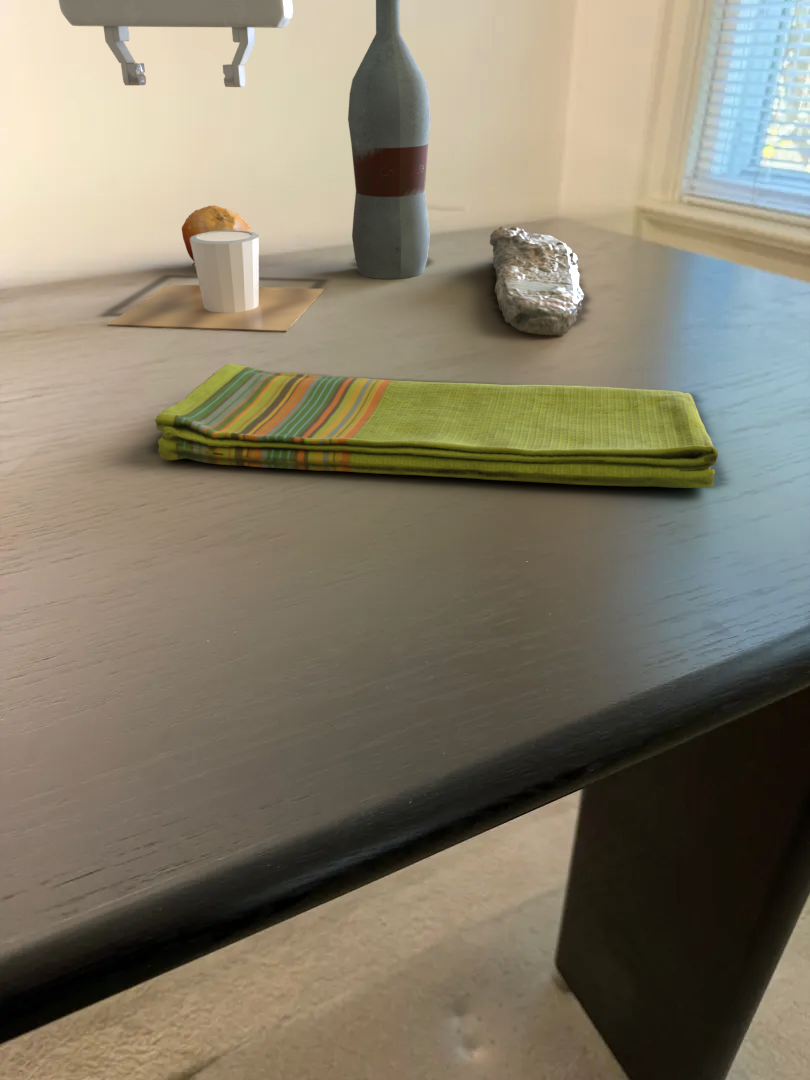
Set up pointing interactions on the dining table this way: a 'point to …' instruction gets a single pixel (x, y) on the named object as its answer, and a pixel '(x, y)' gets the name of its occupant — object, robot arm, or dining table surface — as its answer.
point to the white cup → (227, 269)
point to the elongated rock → (536, 281)
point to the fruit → (211, 223)
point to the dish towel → (442, 429)
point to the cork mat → (187, 311)
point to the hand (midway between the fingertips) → (184, 86)
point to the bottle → (389, 154)
